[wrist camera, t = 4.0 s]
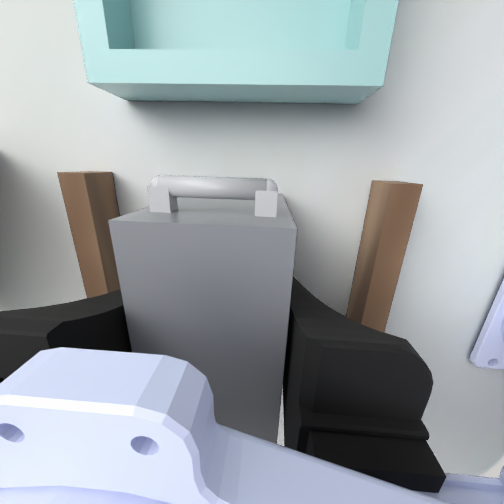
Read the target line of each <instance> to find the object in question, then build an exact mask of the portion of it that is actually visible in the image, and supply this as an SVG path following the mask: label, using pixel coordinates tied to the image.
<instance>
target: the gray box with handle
mask: <svg viewBox="0 0 504 504" xmlns="http://www.w3.org/2000/svg"><path fill="white" fill-rule="evenodd" d="M147 191H148V200H149V207H146V208H143V209H140V210H137V211H134V212H131V213H128V214H125V215H122V216H119V217H116V218H114V219H111V220H108V222H109V228H110V233H111V239H112V244H113V250H114V255H115V261H116V266H117V272H118V277H119V283H120V288H121V294H122V299H123V305H124V310H125V316H126V321H127V327H128V332H129V338H130V343H131V349H132V353H144V354H157V355H167V356H171V357H174V358H178V359H181V360H185V361H188V362H189V363H190V364H191V365H193V366H194V367H195V368H196V369H197V370H199V371H200V372H201V373H202V374H204V375H205V376H206V377H207V380H208V383H209V385H210V388H211V390H212V393H213V401H214V416H215V421H216V423H217V424H220V425H223V426H226V427H229V428H232V429H235V430H237V431H240V432H243V433H246V434H249V435H252V436H255V437H258V438H261V439H264V440H267V441H269V442H272V443H275V444H277V436H278V425H279V415H280V404H281V394H282V383H283V373H284V362H285V352H286V341H287V331H288V320H289V310H290V299H291V289H292V278H293V268H294V258H295V247H296V237H297V227H296V225H295V222H294V220H293V218H292V215H291V213H290V211H289V209H288V206H287V204H286V202H285V199H284V197H283V195H282V194H278V190H277V185H276V183H275V182H274V181H273V180H271V179H263V178H233V177H202V176H172V175H158V176H156V177H154V178H153V179H152V181H151V186H148V187H147Z"/></svg>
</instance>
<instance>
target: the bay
mask: <svg viewBox="0 0 504 504" xmlns="http://www.w3.org/2000/svg"><path fill="white" fill-rule="evenodd" d="M57 174H58V178H59V182H60V186H61V190H62V195H63V199H64V203H65V207H66V211H67V215H68V220H69V224H70V228H71V232H72V236H73V241H74V245H75V249H76V253H77V257H78V262H79V266H80V270H81V274H82V278H83V283H84V287H85V291H86V295H87V298H92V297H96V296H100V295H103V294H107V293H110V292H113V291H116V290H119V289H121V288H120V283H119V277H118V272H117V266H116V261H115V255H114V250H113V244H112V239H111V233H110V228H109V222H108V220H111V219H114V218H116V217H119V211H118V205H117V199H116V193H115V187H114V181H113V175H112V172H94V171H85V172H57ZM422 187H423V184H415V183H407V182H399V181H372V185H371V190H370V195H369V200H368V206H367V211H366V216H365V221H364V226H363V232H362V237H361V242H360V247H359V252H358V257H357V263H356V268H355V273H354V278H353V283H352V289H351V294H350V299H349V304H348V309H347V315H346V317H347V318H349V319H351V320H353V321H355V322H357V323H360V324H362V325H364V326H367V327H369V328H372V329H375V330H377V331H380V332H383V333H384V331H385V327H386V323H387V320H388V316H389V312H390V308H391V304H392V301H393V297H394V293H395V289H396V285H397V282H398V278H399V274H400V270H401V266H402V263H403V259H404V255H405V251H406V248H407V244H408V240H409V236H410V232H411V229H412V225H413V221H414V217H415V213H416V210H417V206H418V202H419V198H420V194H421V191H422ZM282 384H283V383H282Z"/></svg>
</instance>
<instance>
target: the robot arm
mask: <svg viewBox="0 0 504 504" xmlns="http://www.w3.org/2000/svg"><path fill="white" fill-rule="evenodd" d="M470 361H471V362H472V363H473V364H474V365H475V366H477V367H480V368H493V369H504V279H503V281H502V284H501V286H500V288H499V291H498V293H497V295H496V298H495V300H494V302H493V305H492V307H491V309H490V311H489V314H488V316H487V318H486V321H485V323H484V325H483V328H482V330H481V332H480V335H479V337H478V339H477V342H476V344H475V346H474V349H473V351H472V353H471V356H470ZM432 386H433V379H432V374H431V371H430V370H429V368H428V366H427V365H426V363H425V362H424V361H423V359H422V358H421V357H420V356H419V354H418V353H417V352H416V351H415V349H414V348H413V347H412V346H411V344H410V343H409V342H408V341H407V340H406V339H403V338H399V337H396V336H393V335H390V334H386V333H383V332H380V331H377V330H375V329H372V328H369V327H367V326H364V325H362V324H360V323H357V322H355V321H353V320H351V319H349V318H347V317H345V316H343V315H341V314H339V313H338V312H336V311H334V310H333V309H331V308H329V307H328V306H326V305H325V304H323V303H322V302H321V301H319V300H318V299H317V298H316V297H314V296H313V295H312V294H311V293H310V292H308V291H307V290H306V289H305V288H304V287H303V286H302V285H301V284H300V283H299V282H298V281H297V280H296V279H295V278H294V277H293V278H292V289H291V299H290V310H289V320H288V331H287V341H286V352H285V362H284V373H283V405H284V444H285V447H284V446H281V445H278V444H275V443H272V442H269V441H267V440H264V439H261V438H258V437H255V436H252V435H249V434H246V433H243V432H240V431H237V430H235V429H232V428H229V427H226V426H223V425H220V424H217V423H216V421H215V416H214V401H213V393H212V390H211V388H210V385H209V383H208V380H207V377H206V376H205V375H204V374H202V373H201V372H200V371H199V370H197V369H196V368H195V367H194V366H193V365H191V364H190V363H189V362H188V361H185V360H181V359H178V358H174V357H171V356H167V355H157V354H144V353H132V349H131V343H130V338H129V332H128V327H127V321H126V316H125V310H124V305H123V299H122V294H121V289H119V290H116V291H113V292H110V293H107V294H103V295H100V296H96V297H92V298H87V299H83V300H79V301H74V302H69V303H64V304H58V305H52V306H45V307H38V308H30V309H20V310H11V311H0V504H504V466H503V468H502V470H501V472H500V476H499V478H490V477H480V476H470V475H459V474H449V473H444V471H443V470H442V468H441V466H440V464H439V463H438V461H437V459H436V457H435V456H434V454H433V452H432V450H431V449H430V447H429V445H428V443H427V441H426V440H428V439H429V432H428V431H427V429H426V427H425V425H424V424H423V422H422V420H421V418H422V415H423V413H424V410H425V407H426V405H427V402H428V400H429V397H430V394H431V391H432Z"/></svg>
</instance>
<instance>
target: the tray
mask: <svg viewBox="0 0 504 504" xmlns="http://www.w3.org/2000/svg"><path fill="white" fill-rule="evenodd" d="M73 2H74V8H75V13H76V19H77V25H78V31H79V36H80V42H81V48H82V53H83V59H84V65H85V70H86V76H87V82H88V83H90V84H92V85H94V86H96V87H98V88H101V89H103V90H105V91H107V92H109V93H112V94H114V95H116V96H118V97H120V98H123V99H125V100H149V101H215V102H281V103H347V104H358V103H359V102H361V101H362V100H364V99H365V98H367V97H368V96H369V95H371V94H372V93H374V92H375V91H377V90H378V89H379V88H381V87H382V86H383V84H384V78H385V73H386V67H387V62H388V56H389V51H390V46H391V40H392V35H393V29H394V24H395V18H396V13H397V7H398V2H399V0H73Z"/></svg>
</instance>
